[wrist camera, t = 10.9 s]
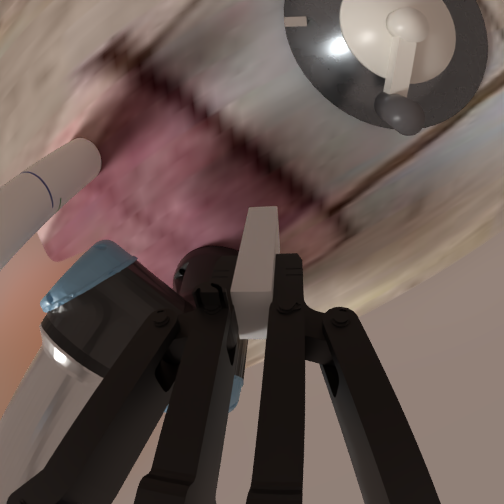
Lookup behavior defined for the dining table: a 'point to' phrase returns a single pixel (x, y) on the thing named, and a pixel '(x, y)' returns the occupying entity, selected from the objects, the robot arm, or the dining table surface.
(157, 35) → the dining table surface
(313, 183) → the dining table surface
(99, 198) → the dining table surface
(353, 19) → the dial
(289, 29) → the dial plate
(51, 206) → the cylindrical container
